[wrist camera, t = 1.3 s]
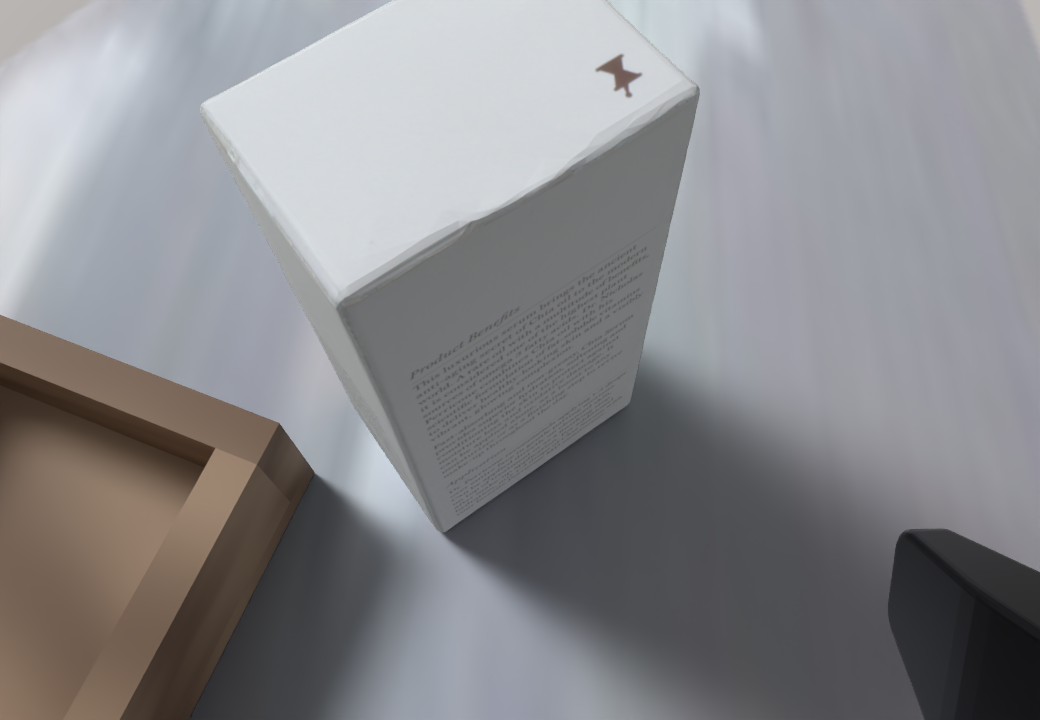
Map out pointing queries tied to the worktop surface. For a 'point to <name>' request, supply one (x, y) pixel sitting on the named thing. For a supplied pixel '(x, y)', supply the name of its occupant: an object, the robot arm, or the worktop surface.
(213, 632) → the walnut holder
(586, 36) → the skincare box
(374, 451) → the worktop surface
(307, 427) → the worktop surface
